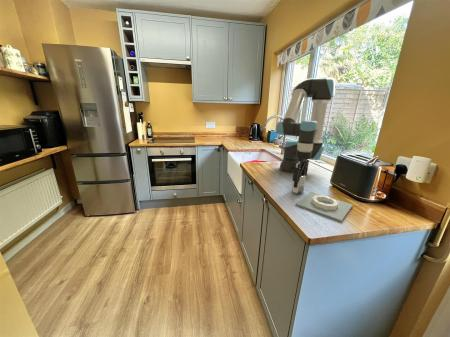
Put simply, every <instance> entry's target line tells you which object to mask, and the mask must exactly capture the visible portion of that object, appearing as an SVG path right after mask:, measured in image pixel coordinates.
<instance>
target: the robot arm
mask: <svg viewBox="0 0 450 337" xmlns="http://www.w3.org/2000/svg"><path fill="white" fill-rule="evenodd" d="M335 82H336V80H335V78H333V77H318V78H307V79H304V80H302V81H300V82H299V83H298V84H297V85H296V86H295V87H294V88H293V90H292V92H291V99H290V102H289V104H288V106H287V110H286V112H285V114H284V116H283V120H282V121H278V122H277V123H276V127H275V133H276V134H277V135H280V136H290V137H298V139H290V140H286V141H285V142H284V148H283V156H282V161H281V162H280V165H279V170H280V171H282V172H285V173H293V175H292V180H291V181H292V182H293V181H294V186H293V185H292V188H293V192H295V193H298V189H299V183H300V182H299V179H300V176H301V174H303V175H305V176H306V179H307V176H308V170H309V164H310V160H312V161H320V160H321V157H322V155H323V152H324V148H325V144H324V142H323V140H322V135H323V131H324V125H325V120H326V114H327V110H328V109H327V108H328V103H330V101H331V100H332V99H333V98H335V88H336V87H335ZM307 98H311V100H310V101H311V102H312V110H311V116H310V120H302V121H301V122H297V121H298V117H299V115H300V112H301V109H302V106H303V102H304V101H305V100H306V99H307ZM293 192H292V193H293ZM295 193H294V194H295Z"/></svg>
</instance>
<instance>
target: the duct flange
mask: <svg viewBox="0 0 450 337" xmlns="http://www.w3.org/2000/svg"><path fill="white" fill-rule="evenodd" d="M295 206H296V207H299V208H301V209H304V210H307V211H309V212H312V213H315V214H318V215H321V216H323V217H325V218H327V219H331V220H333V221H337V222H339V223H342V222H343V221H344V219H345V218H346V217H347V215H348V213H350V211H351V209H352V208H353V207H354V205H353V204H352V203H349V202H345V201H343V200H339V199H335V198H333V197H331V196H327V195H323V194H319V193H316V192H312V191H311V192H309V193H308V194H305V196H304V197H302V198H301V199H299V200H298V201H297V202H296V203H295Z"/></svg>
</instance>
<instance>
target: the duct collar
mask: <svg viewBox="0 0 450 337" xmlns="http://www.w3.org/2000/svg"><path fill="white" fill-rule="evenodd" d="M306 180H307V178H306V176H305V175H303V174H301V176H300V179H299V182H300V183H299V189H298V193H295V192H293V186H294V181H292V187H291V188H292V190H291V192H292V194H295V195H303V194H304V190H305V183H306Z"/></svg>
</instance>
